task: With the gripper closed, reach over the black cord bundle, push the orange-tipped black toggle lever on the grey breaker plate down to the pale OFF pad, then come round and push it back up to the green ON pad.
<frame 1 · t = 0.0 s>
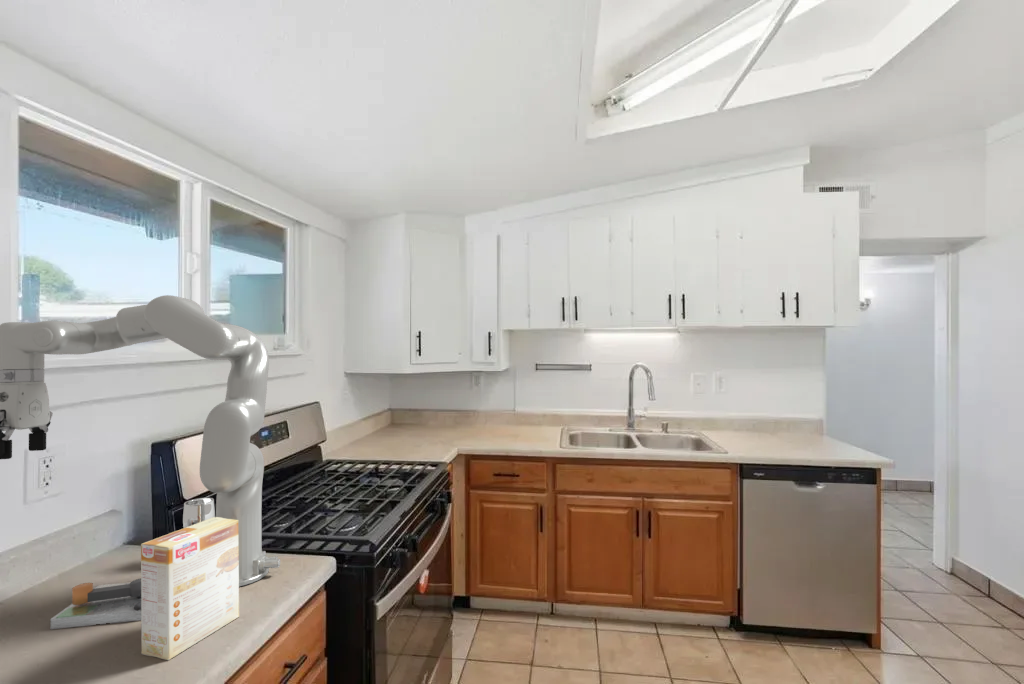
hand: (20, 454, 110), 31 cm above the countertop, tool pointing down, fingers open, 9 cm apart
cord bundle: (161, 602, 105), on the countertop
breaker lever: (112, 589, 103), point 4 cm above the countertop, hinge at 8.0°
coffeecake box: (193, 635, 93), on the countertop
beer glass: (199, 560, 128), on the countertop
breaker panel: (118, 606, 104), on the countertop
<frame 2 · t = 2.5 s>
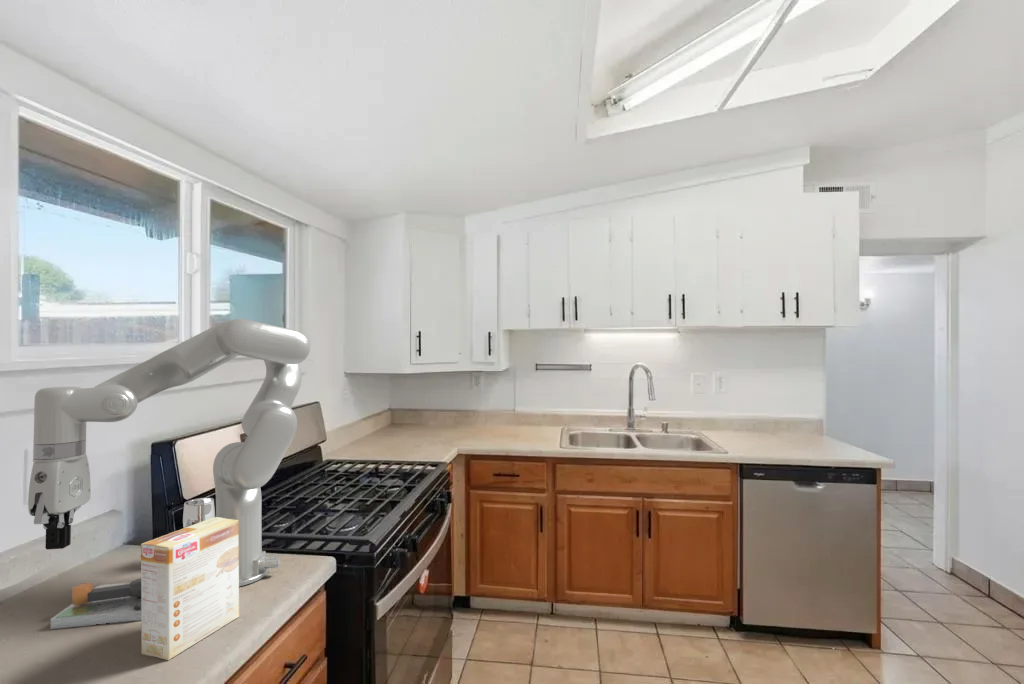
hand: (58, 547, 95), 16 cm above the countertop, tool pointing down, fingers closed
nothing on the countertop moved.
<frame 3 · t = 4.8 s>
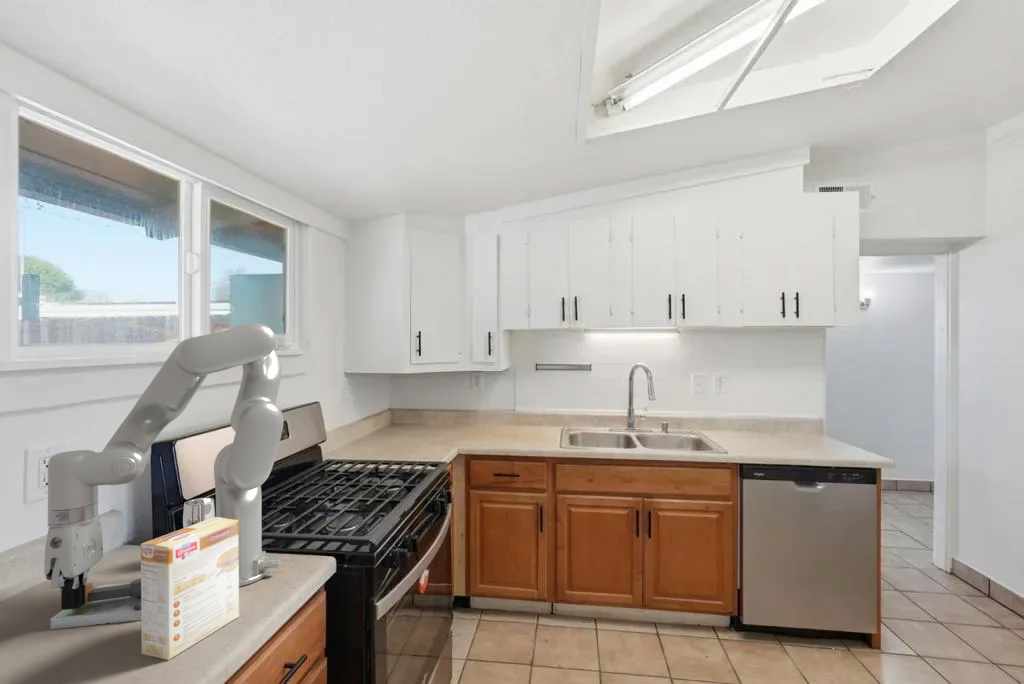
hand: (73, 606, 98), 3 cm above the countertop, tool pointing down, fingers closed
breaker lever: (112, 589, 103), point 4 cm above the countertop, hinge at 8.0°, touching gripper
everything else where it was.
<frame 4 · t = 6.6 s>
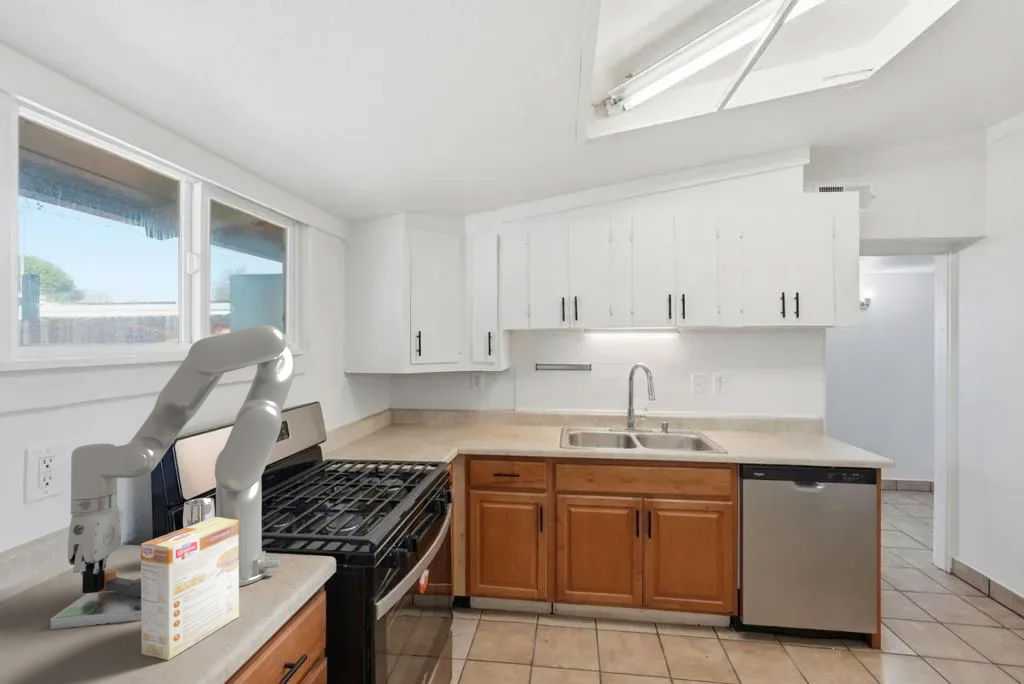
hand: (93, 591, 104), 3 cm above the countertop, tool pointing down, fingers closed
breaker lever: (123, 582, 106), point 4 cm above the countertop, hinge at -28.2°, touching gripper
everything else where it was.
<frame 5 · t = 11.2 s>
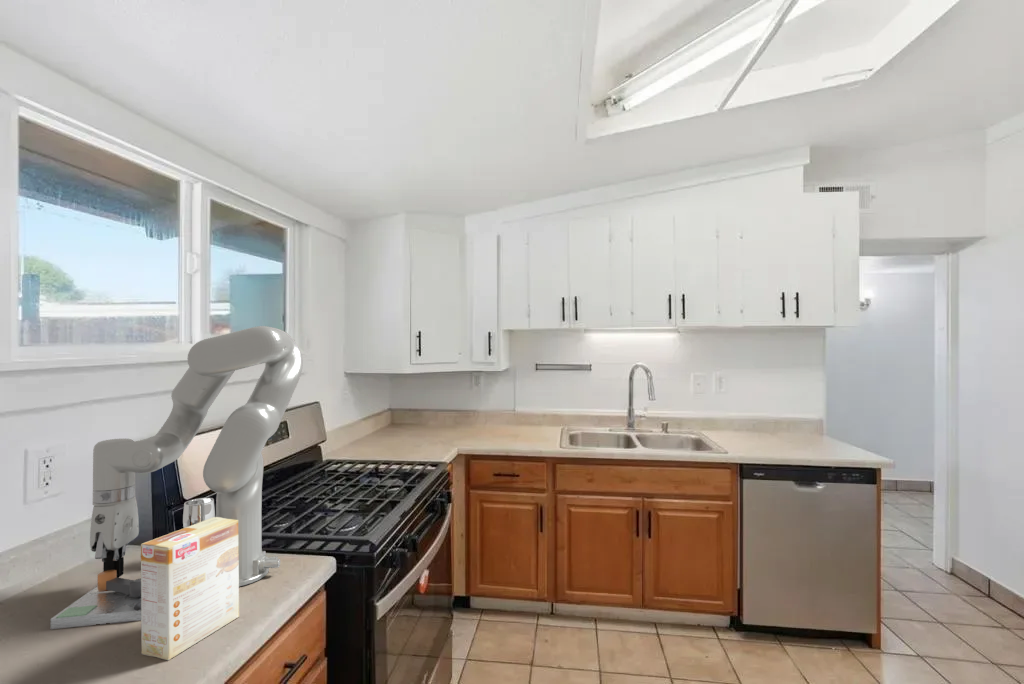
hand: (113, 576, 111), 3 cm above the countertop, tool pointing down, fingers closed
breaker lever: (123, 582, 106), point 4 cm above the countertop, hinge at -27.8°, touching gripper
everything else where it was.
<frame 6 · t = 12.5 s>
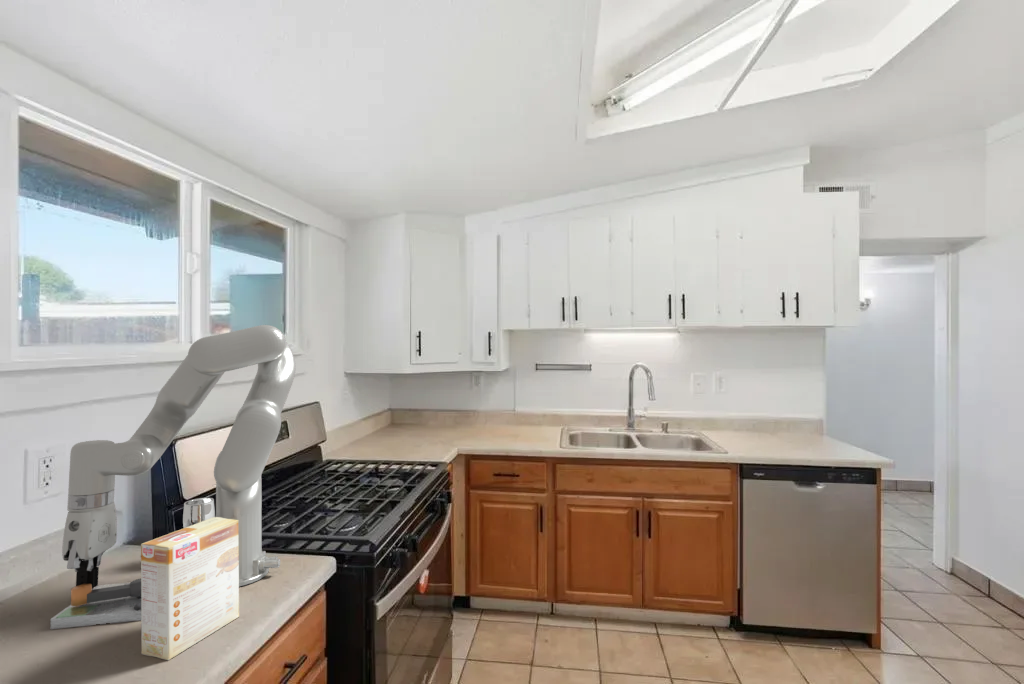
hand: (86, 587, 104), 4 cm above the countertop, tool pointing down, fingers closed
breaker lever: (111, 590, 103), point 4 cm above the countertop, hinge at 10.8°, touching gripper
everything else where it was.
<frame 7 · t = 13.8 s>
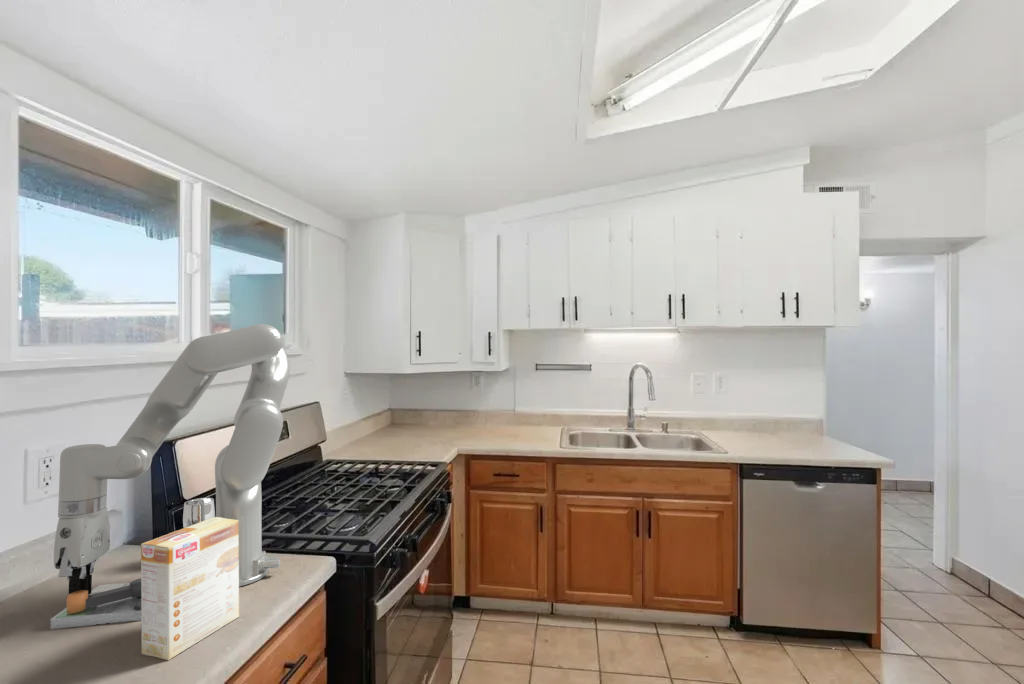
hand: (79, 596, 101), 4 cm above the countertop, tool pointing down, fingers closed
breaker lever: (110, 593, 102), point 4 cm above the countertop, hinge at 29.5°, touching gripper
everything else where it was.
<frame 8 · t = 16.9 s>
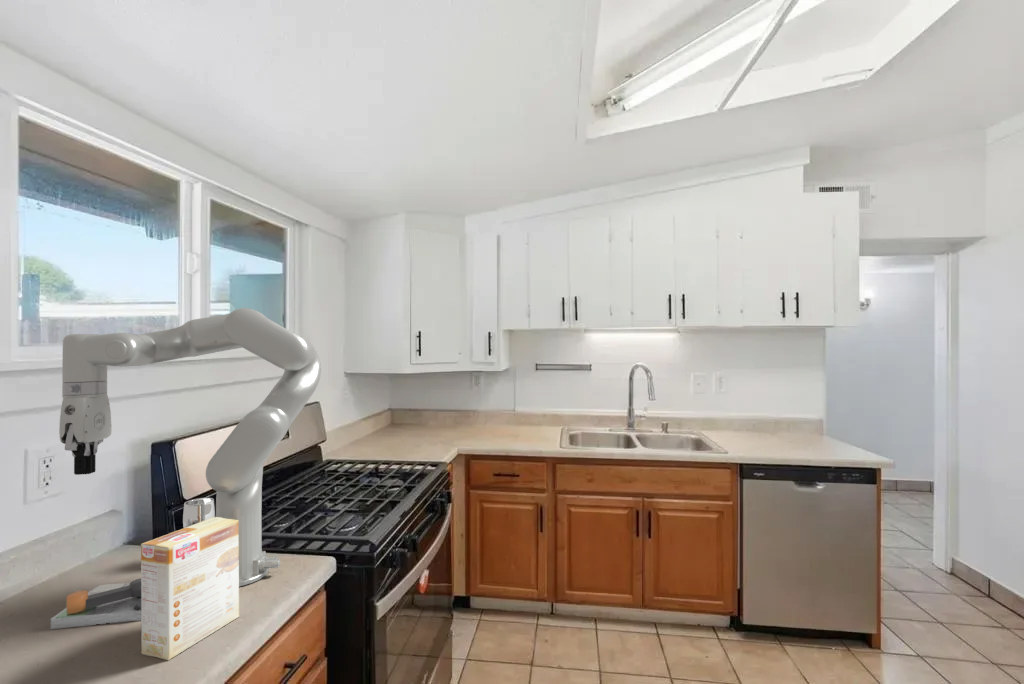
hand: (84, 473, 109), 27 cm above the countertop, tool pointing down, fingers closed
breaker lever: (110, 593, 101), point 4 cm above the countertop, hinge at 30.4°
everything else where it was.
at the end: breaker lever at +30° (first picture: +8°); the gripper is holding nothing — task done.
